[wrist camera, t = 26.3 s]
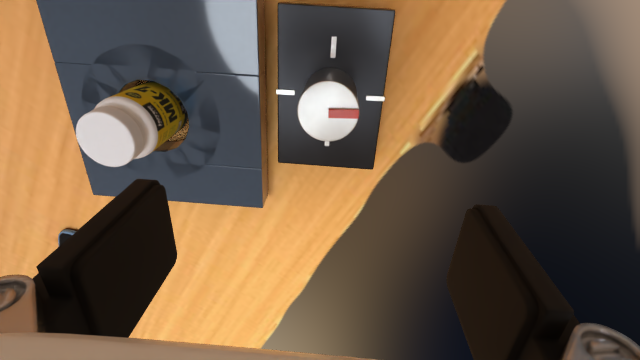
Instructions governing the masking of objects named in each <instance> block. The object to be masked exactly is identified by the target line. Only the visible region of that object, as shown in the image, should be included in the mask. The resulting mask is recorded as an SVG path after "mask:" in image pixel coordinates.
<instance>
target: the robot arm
mask: <svg viewBox="0 0 640 360" xmlns="http://www.w3.org/2000/svg"><path fill="white" fill-rule="evenodd" d="M176 259H177V250H176V245H175V239H174V234H173V228H172V223H171V217H170V211H169V206H168V200H167V195H166V190H165V187H164V186H163V185H160V183H159V181H157V180H149V179H136V180H135V181H134V182H132V183H131V184H130V185H129V186H128V187H127V188H126V189H124V190H123V191H122V192H121V193H120V194H119V195H118V196H116V197H115V198H114V199H113V200H112V201H111V202H110V203H108V204H107V205H106V206H105V207H104V208H103V209H102V210H100V211H99V212H98V213H97V214H96V215H95V216H94V217H92V218H91V219H90V220H89V221H88V222H87V223H86V224H84V225H83V226H82V227H81V228H80V229H79V230H78V231H77V232H75V233H74V234H73V235H72V236H71V237H70V238H69V239H67V240H66V241H65V242H64V243H63V244H62V245H61V246H59V247H58V248H57V249H56V250H55V251H54V252H53V253H51V254H50V255H49V256H48V257H47V258H46V259H45V260H43V261H42V262H41V263H40V264H39V265H38V266H37V269H38V271H39V273H38V274H37V275H36V276H35V277H34V278H33V279H32V278H30V277H28V276H25V275H7V276H3V277H0V360H377V359H366V358H355V357H345V356H334V355H323V354H312V353H301V352H289V351H278V350H267V349H256V348H244V347H233V346H221V345H209V344H197V343H185V342H173V341H161V340H149V339H137V338H128V337H129V336H130V334H131V333H132V331H133V329H134V328H135V326H136V325H137V323H138V321H139V320H140V318H141V317H142V315H143V314H144V312H145V310H146V309H147V307H148V306H149V304H150V302H151V301H152V299H153V298H154V296H155V295H156V293H157V291H158V290H159V288H160V287H161V285H162V283H163V282H164V280H165V279H166V277H167V276H168V274H169V272H170V271H171V269H172V268H173V266H174V264H175V262H176ZM447 287H448V290H449V292H450V295H451V298H452V301H453V303H454V306H455V309H456V312H457V314H458V317H459V320H460V323H461V326H462V328H463V331H464V334H465V337H466V339H467V342H468V345H469V348H470V350H471V353H472V356H473V359H474V360H640V347H639V346H638V345H637V344H636V343H634V342H633V341H632V340H631V339H629V338H628V337H626V336H624V335H623V334H621V333H619V332H617V331H615V330H612V329H610V328H608V327H606V326H602V325H598V324H594V323H582V324H580V323H579V322H578V320H577V319H576V317H575V316H574V315H573V314H574V310H573V309H572V308H571V307H570V305H569V304H568V302H567V301H566V300H565V298H564V297H563V296H562V294H561V293H560V291H559V290H558V289H557V287H556V286H555V285H554V283H553V282H552V281H551V279H550V278H549V277H548V275H547V274H546V272H545V271H544V270H543V268H542V267H541V266H540V264H539V263H538V262H537V260H536V259H535V258H534V256H533V255H532V253H531V252H530V251H529V249H528V248H527V247H526V245H525V244H524V243H523V241H522V240H521V239H520V237H519V236H518V235H517V233H516V232H515V231H514V229H513V228H512V226H511V225H510V224H509V222H508V221H507V220H506V218H505V217H504V216H503V214H502V213H501V212H500V210H499V209H498V208H497V207H496V206H489V205H474V207H473V208H472V209H468V210H467V212H466V214H465V218H464V221H463V224H462V227H461V231H460V234H459V238H458V241H457V244H456V247H455V251H454V254H453V257H452V261H451V264H450V268H449V271H448V274H447Z"/></svg>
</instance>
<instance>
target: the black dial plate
mask: <svg viewBox="0 0 640 360" xmlns="http://www.w3.org/2000/svg"><path fill="white" fill-rule="evenodd" d="M394 18H395V10H393V9H387V8H371V7H354V6H338V5H322V4H306V3H290V2H281V3H278V89H276V94H278V162H279V163H293V164H306V165H320V166H333V167H346V168H360V169H373V167H374V160H375V153H376V146H377V139H378V132H379V124H380V117H381V110H382V103H383V101H385V96H384V89H385V82H386V75H387V68H388V61H389V53H390V46H391V39H392V32H393V25H394ZM325 68H336V69H340V70H342V71H344V72H345V73H347V74H348V75H349V76H350V77H351V78H352V80H353V81H354V83H355V86H356V90H357V96H358V103H359V119H358V122H357V124H356V126H355V128H354V129H353V130H352V131H351V132H350V133H349V134H348V135H347V136H345V137H344V138H342V139H339V140H336V141H321V140H318V139H315V138H313V137H311V136H310V135H309V134H307V133H306V132H305V131H304V129H303V128H302V126H301V125H300V123H299V120H298V116H297V106H298V102H299V99H300V97H301V94H302V92H303V90H304V87H305V85H306V83H307V81H308V79H309V78H310V77H311V76H312V75H313V74H314V73H315V72H317V71H319V70H321V69H325Z"/></svg>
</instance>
